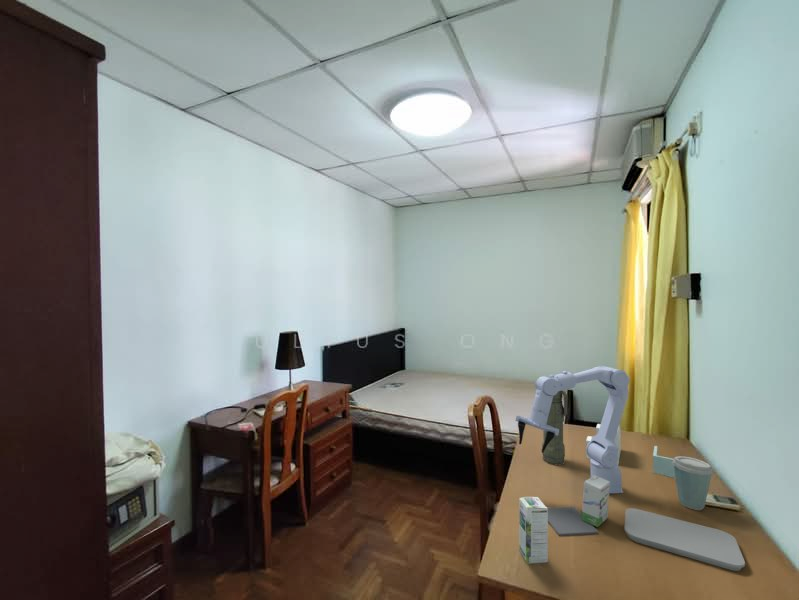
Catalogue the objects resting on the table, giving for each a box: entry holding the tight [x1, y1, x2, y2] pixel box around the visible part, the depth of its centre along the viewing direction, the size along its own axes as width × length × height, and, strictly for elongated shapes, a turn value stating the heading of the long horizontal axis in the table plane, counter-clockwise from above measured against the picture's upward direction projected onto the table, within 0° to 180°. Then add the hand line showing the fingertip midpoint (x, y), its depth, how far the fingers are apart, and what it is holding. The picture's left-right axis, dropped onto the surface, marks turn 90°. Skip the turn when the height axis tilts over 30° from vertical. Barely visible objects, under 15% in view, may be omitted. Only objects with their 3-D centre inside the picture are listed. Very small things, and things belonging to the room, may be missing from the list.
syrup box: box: [518, 496, 549, 565], centre depth 98 cm, size 6×6×14 cm
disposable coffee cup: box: [672, 455, 714, 511], centre depth 121 cm, size 11×11×15 cm
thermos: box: [541, 390, 569, 466], centre depth 156 cm, size 9×12×35 cm
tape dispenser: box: [585, 423, 622, 466], centre depth 162 cm, size 12×18×14 cm, turn 146°
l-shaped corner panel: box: [652, 445, 675, 479], centre depth 145 cm, size 12×12×8 cm
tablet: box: [624, 507, 746, 572], centre depth 104 cm, size 16×26×2 cm, turn 57°
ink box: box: [581, 475, 610, 528], centre depth 114 cm, size 8×5×12 cm, turn 132°
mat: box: [547, 506, 599, 537], centre depth 113 cm, size 12×13×1 cm
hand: (531, 447), depth 129 cm, fingers open, 7 cm apart
